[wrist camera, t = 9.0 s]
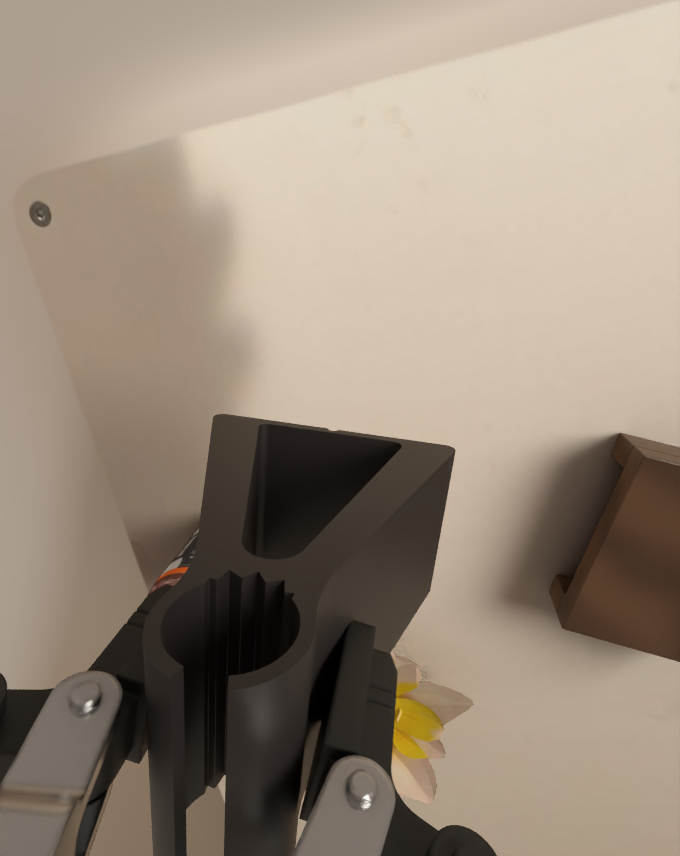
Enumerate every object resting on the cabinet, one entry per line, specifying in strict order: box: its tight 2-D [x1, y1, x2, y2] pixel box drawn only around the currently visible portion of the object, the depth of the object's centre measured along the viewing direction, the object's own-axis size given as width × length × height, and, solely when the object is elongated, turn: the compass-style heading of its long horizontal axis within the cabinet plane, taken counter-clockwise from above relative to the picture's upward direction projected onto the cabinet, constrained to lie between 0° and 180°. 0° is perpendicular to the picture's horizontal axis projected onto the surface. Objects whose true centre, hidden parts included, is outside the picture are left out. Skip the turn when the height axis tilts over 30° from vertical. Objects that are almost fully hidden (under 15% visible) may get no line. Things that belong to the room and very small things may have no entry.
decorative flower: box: [302, 649, 474, 804], centre depth 38 cm, size 15×11×10 cm
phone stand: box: [143, 414, 455, 856], centre depth 14 cm, size 9×6×12 cm, turn 84°
